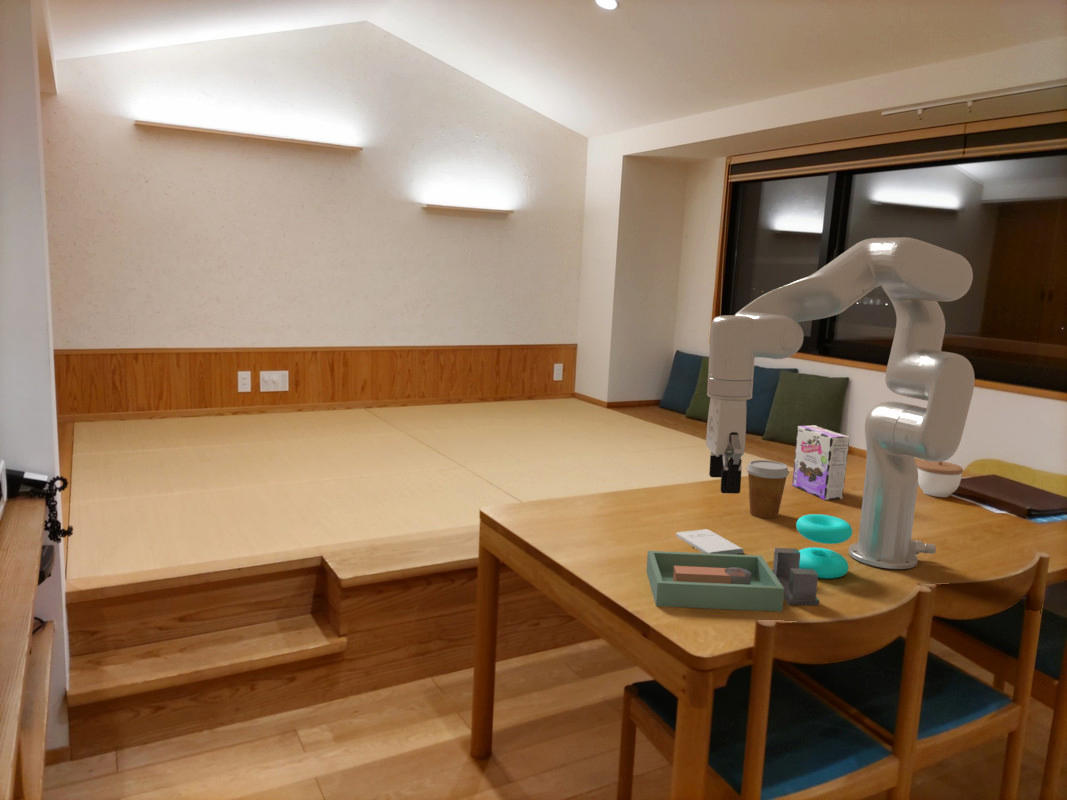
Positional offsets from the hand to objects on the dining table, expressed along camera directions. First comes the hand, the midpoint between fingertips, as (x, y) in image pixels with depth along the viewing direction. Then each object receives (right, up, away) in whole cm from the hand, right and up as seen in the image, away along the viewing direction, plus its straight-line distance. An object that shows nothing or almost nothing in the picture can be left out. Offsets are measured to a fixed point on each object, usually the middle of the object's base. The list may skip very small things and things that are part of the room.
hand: (724, 484), depth 137 cm
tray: (-2, -19, +1) cm, 19 cm away
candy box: (+40, -9, +66) cm, 78 cm away
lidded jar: (+72, -10, +68) cm, 100 cm away
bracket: (+13, -19, +3) cm, 23 cm away
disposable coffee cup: (+21, -12, +46) cm, 52 cm away
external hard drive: (+3, -16, +25) cm, 30 cm away
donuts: (+21, -18, +13) cm, 31 cm away
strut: (-2, -18, +1) cm, 19 cm away
